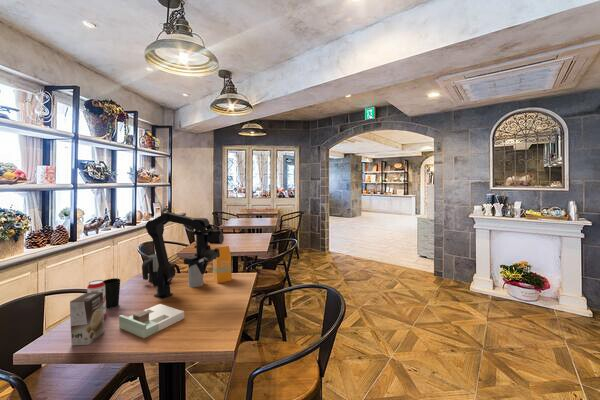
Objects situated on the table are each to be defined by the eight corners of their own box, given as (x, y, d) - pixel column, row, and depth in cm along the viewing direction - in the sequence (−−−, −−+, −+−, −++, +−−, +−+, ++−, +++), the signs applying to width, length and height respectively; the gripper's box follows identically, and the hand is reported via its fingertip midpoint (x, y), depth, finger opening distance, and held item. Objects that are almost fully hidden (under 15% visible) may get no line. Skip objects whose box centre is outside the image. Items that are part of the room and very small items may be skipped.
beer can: (87, 323, 118) (85, 285, 117) (90, 317, 124) (88, 280, 123) (105, 320, 121) (103, 283, 120) (107, 314, 127) (105, 278, 126)
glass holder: (187, 288, 158) (187, 261, 157) (187, 279, 171) (187, 255, 170) (204, 286, 161) (203, 259, 160) (203, 278, 175) (202, 253, 174)
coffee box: (89, 345, 103) (87, 301, 102) (70, 345, 102) (68, 302, 101) (105, 331, 112) (103, 291, 111) (87, 332, 111) (85, 292, 110)
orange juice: (231, 280, 171) (231, 247, 169) (217, 283, 166) (216, 249, 164) (227, 276, 177) (226, 244, 176) (212, 279, 172) (212, 246, 171)
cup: (111, 310, 131) (110, 284, 130) (97, 308, 132) (96, 283, 131) (125, 303, 138) (124, 278, 137) (111, 301, 140) (110, 277, 139)
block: (133, 321, 114) (133, 314, 114) (142, 317, 117) (142, 310, 117) (139, 324, 112) (139, 316, 112) (149, 319, 115) (148, 312, 115)
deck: (119, 327, 115) (118, 315, 115) (159, 310, 131) (159, 299, 130) (144, 338, 107) (143, 325, 107) (184, 318, 123) (183, 306, 123)
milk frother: (154, 277, 176) (153, 253, 175) (179, 277, 175) (178, 253, 174) (139, 285, 162) (138, 259, 161) (166, 286, 161) (165, 260, 160)
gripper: (199, 249, 132) (199, 282, 133) (227, 241, 148) (227, 271, 149) (182, 246, 137) (183, 278, 138) (211, 239, 153) (212, 268, 154)
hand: (202, 274), depth 145 cm, fingers closed
